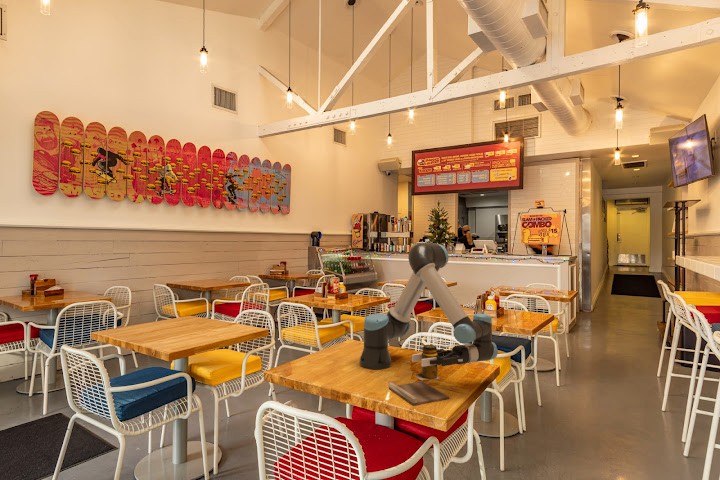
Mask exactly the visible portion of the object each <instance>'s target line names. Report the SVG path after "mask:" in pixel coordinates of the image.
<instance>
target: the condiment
mask: <svg viewBox="0 0 720 480" xmlns="http://www.w3.org/2000/svg"><path fill="white" fill-rule="evenodd" d="M436 350H437V346H436V345H434V344H424V345H423V346H422V359H426V358H433V357H436V358H437V353H436V352H437V351H436ZM414 375H415V376H416V377H417V378H418V379H419V380H420V381H425V380H426V381H427V380H441V378H442V377H440V376H438V365H431V366H424V367H422V366H421V373H414Z"/></svg>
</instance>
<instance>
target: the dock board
mask: <svg viewBox="0 0 720 480" xmlns="http://www.w3.org/2000/svg"><path fill="white" fill-rule="evenodd" d="M388 389H389V390H391V391H392V392H393V393H394V394H396V395H397V396H399V397H400V398H402V399H403V400H405V401H406V402H408V403H409V404H410V405H412V406H419V405H426V404H429V403H434V402H440V401H446V400H450V396H449V395H447V394H445V393H444V392H442V391H440V390H438V389H437V388H435V387H433V386H431V385H430V384H428V383H426V382H425V381H424V380H420V381H416V382H415V381H414V382H409V383H402V384H396V383H394V382H392V381H391V382H388Z"/></svg>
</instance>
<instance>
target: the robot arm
mask: <svg viewBox="0 0 720 480" xmlns="http://www.w3.org/2000/svg"><path fill="white" fill-rule="evenodd" d="M407 257H408V262H409V266H410V268H411V270H412V273H411V275H410V277H409V279H408V281H407V283H406V285H405V286H404V289H403V290H402V292H401V294H400V295H399V298H398V300H397V301H396V303H395V305H394V306H391V307H390V308H389V310H388V312H387V313H386V314H384V313H372V314H369V315H366V316H365V318H364V322H363V349H362V352H361V355H360V358H359V365H360V366H361V367H362V368H365V369H370V370H384V369H387V368H390V367H392V359H391V354H390V351H389V340H393V339H397V338H402V337H403V336H405V335H406V334H408V333H409V331H410V328H411V324H410V323H411V313H412V312H413V310H414V309H415V306H416V304H417V303H418V301H419V299H420V297H421V296H422V294H423V292H424V290H425V289H427V290H428V291H429V293H430V295H432V297H433V298H434V301H435V302H436V303H437V305H438V306H439V308H440V310H441V311H442V312H443V314H444V315H445V317H446V319H448V321H449V322H450V324H451V325H452V327H453V328H454V330H453V336H454V339H455V340H456V341H457V342H458V343H460V344H458V345H454V346H453V347H452V348H451V349H447V350H446V349H445V350H444V348H440V349H436V351H437V352H436V353H437V358H436V357H433V358H426V359H422V353H423V352H422V353H415V354H411V362H412V363H416V362H421V364H420V365H421V368H422V367H424V366H431V365H437V366H441V367H446V366H451V365H465V364H469V365H471V364H472V363H477V362H485V361H486V362H488V361H492V360H494V359H496V358H497V357H498V354H499V351H498V348H497V345H496V343H495V342H493V341H492V339H493V337H492V336H493V335H492V334H493V332H492V329H493V322H492V321H493V320H492V319H493V318H492V316H491V315H490V314H488V313H487V314H486V313H475V314H473V317H472V319H471V318H470V317H469V315H468V314H467V313H466V311H465V310H464V308H463V306H462V305H461V304H460V302H459V300H457V298H456V297H455V295H454V293H452V290H451V289H450V288H449V287H448V285H447V284H446V282H445V281H444V279H443V277H442V276H441V275H440V273H439V270H440V269H442V268H444V267H445V266H446V265H447V264H448V262H449V253H448V250H447V248H446V247H445V246H444V245H442V244H439V243H435V242H433V243H428V242H427V243H424V242H421V243H417V244H415V245H413V246H412V247H411V248H410V250H409V252H408V256H407Z"/></svg>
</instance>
